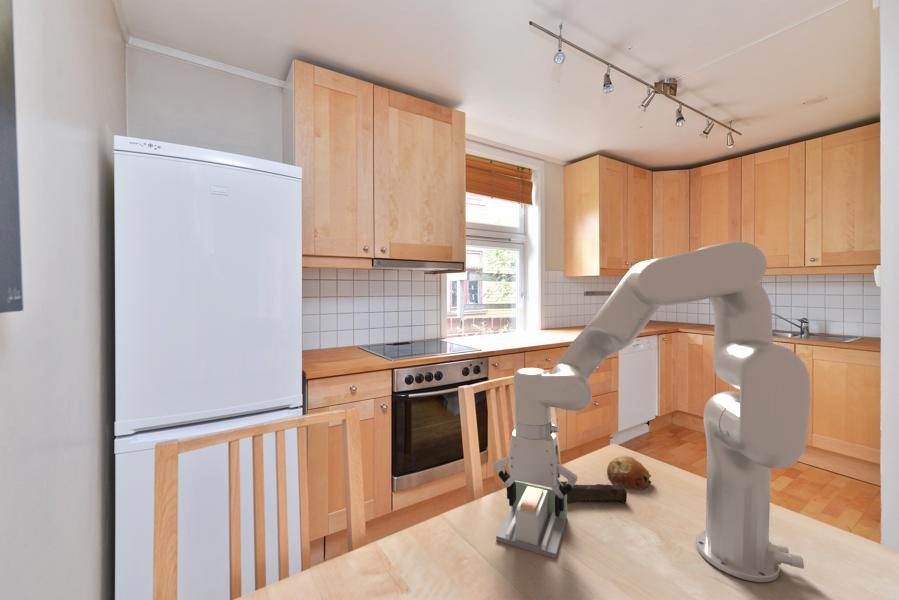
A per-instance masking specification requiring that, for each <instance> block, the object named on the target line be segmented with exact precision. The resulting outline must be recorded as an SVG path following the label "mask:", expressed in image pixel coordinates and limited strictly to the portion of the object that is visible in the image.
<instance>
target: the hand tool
mask: <svg viewBox="0 0 899 600" xmlns="http://www.w3.org/2000/svg"><path fill="white" fill-rule="evenodd" d="M559 481H560V482H561V483H562V484H563V485H564V484H566V483H567V482H568V480H567V481H566V480H565V481H561V480H559ZM627 495H628V494H627V488H626V487H624V486H623V484H620V483H618V484H604V483H603V484H602V483H596V484H576V483H575V485H574V486H573V488H572V490H571V491H570V492H569V493H567V504H570V503H572V502H574V501H604V502H605V501H607V502H617V501H620V502H622V503H623V504H626V503H627V501H628V500H627V499H628V496H627Z"/></svg>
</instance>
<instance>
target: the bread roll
mask: <svg viewBox="0 0 899 600" xmlns="http://www.w3.org/2000/svg"><path fill="white" fill-rule="evenodd" d="M606 474H607V477H608V479H609V481H611V482H612V483H613V484H614V485H616V484H618V483H620V484H623V486H624V487H625V489H630V490H643V489H645V488H646V487H648V485H649V484H650V485H651V483H652V481H651V480H650V478H651V477H652V475H651V474H650V471H649V470H648V469H647V468H646V467H645V466H644V465H643V464H642V463H641V462H639V461H638V460H637V459H635V458H634V457H633V456H630V455H621V456H620V455H619V456H616V457H615V458H614V459H612V460H611V461H610V462H609V463H608V465H607V468H606Z"/></svg>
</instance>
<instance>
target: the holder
mask: <svg viewBox="0 0 899 600" xmlns="http://www.w3.org/2000/svg"><path fill="white" fill-rule="evenodd" d="M547 500H548V491H547V490H543V489H539V488H535V487H530V486H527V488H526V490H525V492H524V494H523V496H522V498H521V500H520V502H519V504H518V506H517V508H516V510H515V539H517V540H520V541H524V542H527V543H530V544H534V545H537V546H538V543H539V540H540V537H541V534H542V531H543V528H544V526H545V523H546V520H547Z"/></svg>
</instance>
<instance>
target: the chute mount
mask: <svg viewBox="0 0 899 600" xmlns="http://www.w3.org/2000/svg"><path fill="white" fill-rule="evenodd" d="M515 483H516V501H515V503H514V504H513V506H510V509H509V511H508V513H507V515H506V516H505V518H504V521H503V522H502V524H501V526H500V528H499V530H498V532H497V533H496V535H495V536H496V538H495V540H496V542H500V543H502V544H507V545H509V546H512V547H515V548H516V547H517V548H519V549H522V550H526V551H529V552H532V553H536V554H539V555H542V556H546V557H548V558H551V559H552V558H553V559H557V556H558V553H559V549H560V546H561V541H562V538H563V534H564V530H565V526H566V523H567V518H568V503H567V494H566V495H565V496H564V510H563V512H562V511H561V512H560V515H559V517H556V516H555V496H556V493H555V492H554V491H553V490H552V488H551V487H545V486H540V485H535V484H530V483H525V482H520V481H516V480H515ZM527 486H530V487H535V488H539V489H543V490H547V491H548V500H547V520H546V523H545V526H544V528H543V531H542V534H541V537H540V540H539V543H538V546H537V545H534V544H530V543H527V542H524V541H520V540H517V539H515V510H516V508H517V506H518V504H519V502H520V500H521V498H522V496H523V494H524V492H525V490H526V488H527Z"/></svg>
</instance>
